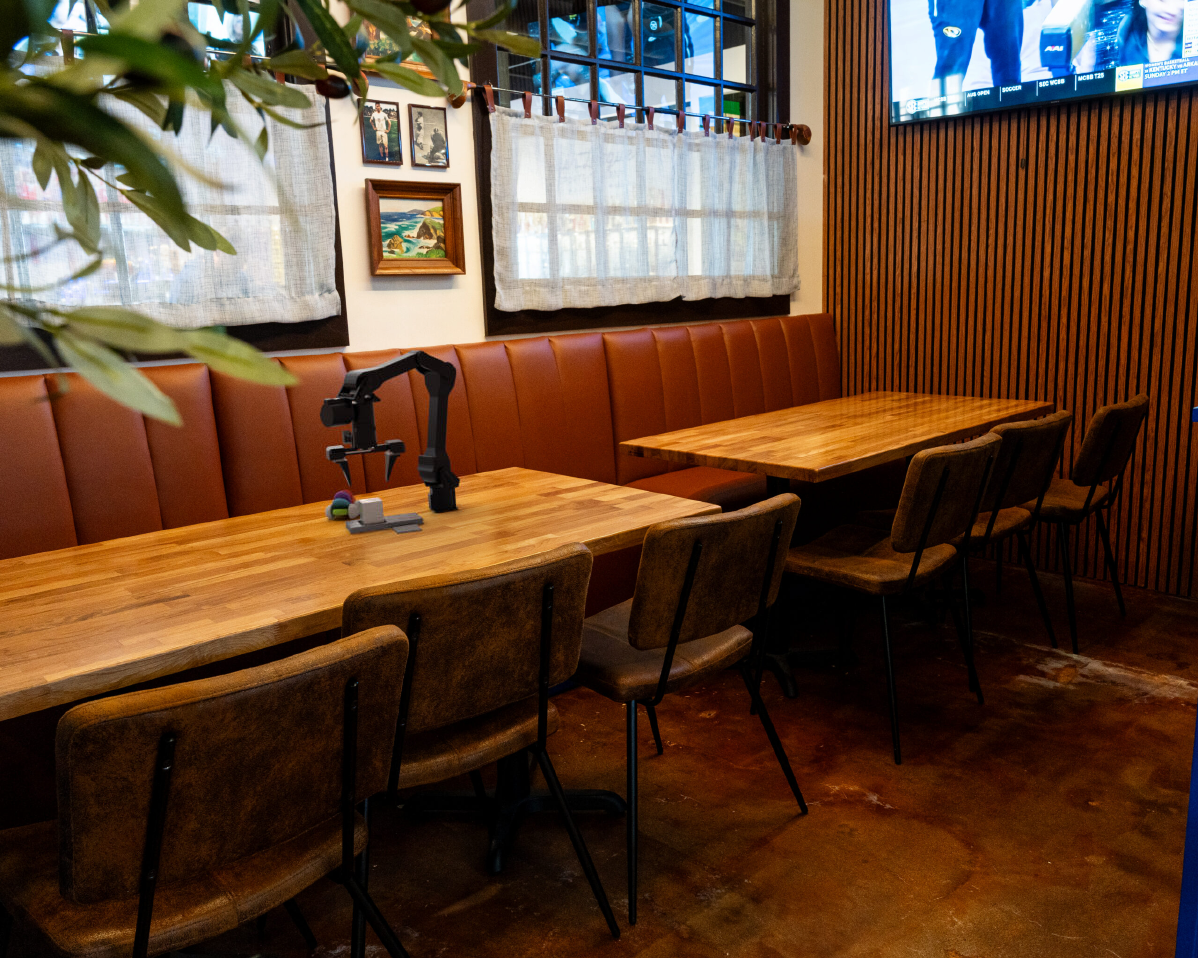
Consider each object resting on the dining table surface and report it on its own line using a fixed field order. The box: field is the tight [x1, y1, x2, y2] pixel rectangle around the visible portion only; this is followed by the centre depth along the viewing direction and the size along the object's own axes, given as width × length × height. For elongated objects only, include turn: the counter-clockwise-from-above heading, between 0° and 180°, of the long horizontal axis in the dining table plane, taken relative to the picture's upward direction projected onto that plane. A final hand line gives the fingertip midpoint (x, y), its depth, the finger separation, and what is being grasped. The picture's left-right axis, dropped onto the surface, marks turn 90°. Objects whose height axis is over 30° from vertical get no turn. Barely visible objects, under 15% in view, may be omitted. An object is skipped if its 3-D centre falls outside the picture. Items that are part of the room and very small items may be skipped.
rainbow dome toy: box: [324, 489, 360, 521], centre depth 260 cm, size 8×10×7 cm
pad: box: [391, 524, 423, 534], centre depth 244 cm, size 6×6×1 cm
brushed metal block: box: [357, 497, 385, 526], centre depth 247 cm, size 5×5×7 cm
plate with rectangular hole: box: [344, 512, 424, 535], centre depth 249 cm, size 18×8×2 cm, turn 114°
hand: (368, 483), depth 246 cm, fingers open, 9 cm apart
